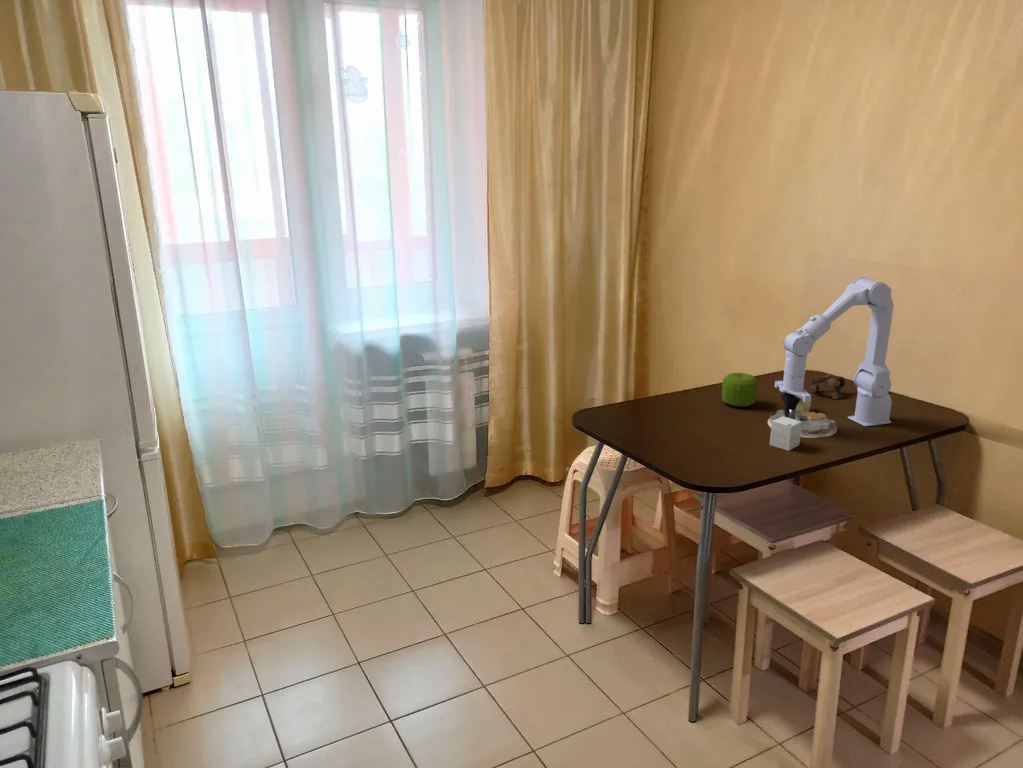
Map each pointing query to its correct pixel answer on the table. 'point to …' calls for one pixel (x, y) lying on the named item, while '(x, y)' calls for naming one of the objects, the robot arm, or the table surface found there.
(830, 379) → the brown irregular piece
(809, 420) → the sprocket
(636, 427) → the table surface
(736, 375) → the apple
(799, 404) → the wooden block
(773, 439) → the skincare box
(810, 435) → the base plate
